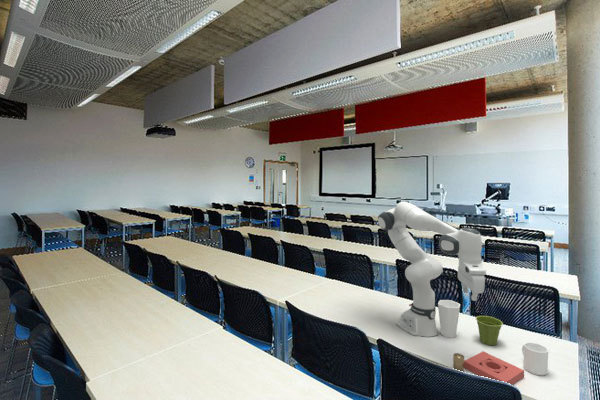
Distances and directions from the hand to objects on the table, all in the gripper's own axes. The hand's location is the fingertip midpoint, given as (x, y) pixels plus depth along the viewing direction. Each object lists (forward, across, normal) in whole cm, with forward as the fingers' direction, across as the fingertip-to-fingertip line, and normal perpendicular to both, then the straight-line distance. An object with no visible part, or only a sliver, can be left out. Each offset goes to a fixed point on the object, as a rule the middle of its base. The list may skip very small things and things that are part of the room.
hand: (469, 296), depth 136 cm
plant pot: (+32, -23, +18) cm, 43 cm away
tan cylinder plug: (+32, +5, -6) cm, 32 cm away
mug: (+32, -2, +27) cm, 42 cm away
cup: (+31, -28, 0) cm, 42 cm away
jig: (+32, +4, +8) cm, 33 cm away
